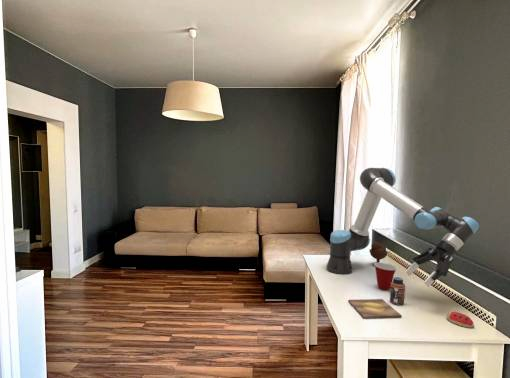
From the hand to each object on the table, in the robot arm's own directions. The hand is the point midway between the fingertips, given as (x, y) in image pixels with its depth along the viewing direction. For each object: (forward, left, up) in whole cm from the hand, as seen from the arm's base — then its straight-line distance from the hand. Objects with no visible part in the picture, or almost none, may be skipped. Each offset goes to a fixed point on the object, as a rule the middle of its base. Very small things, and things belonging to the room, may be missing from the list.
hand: (416, 278), depth 138 cm
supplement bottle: (-1, -8, -12) cm, 14 cm away
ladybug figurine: (+18, +7, -12) cm, 23 cm away
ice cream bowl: (-55, +10, -11) cm, 57 cm away
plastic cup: (-18, -5, -12) cm, 22 cm away
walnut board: (+5, -22, -11) cm, 25 cm away
